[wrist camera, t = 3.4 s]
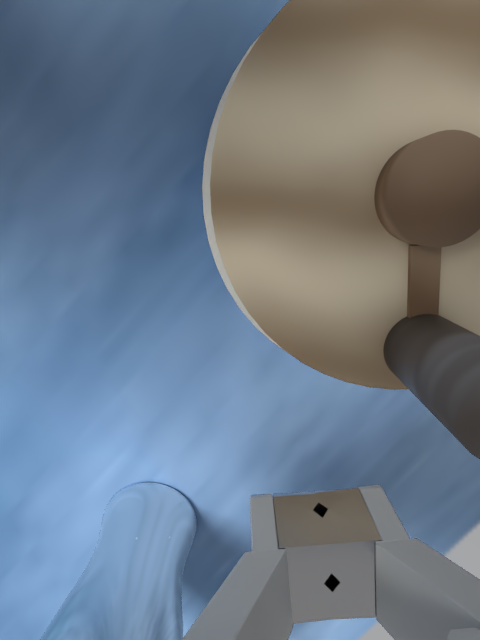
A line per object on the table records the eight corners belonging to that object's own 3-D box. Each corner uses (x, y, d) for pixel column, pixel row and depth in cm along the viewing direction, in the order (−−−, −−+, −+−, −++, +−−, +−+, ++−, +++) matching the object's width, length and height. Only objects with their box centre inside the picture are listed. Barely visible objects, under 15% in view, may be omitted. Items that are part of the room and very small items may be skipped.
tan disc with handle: (190, -12, 15) (140, -244, 7) (631, -60, 15) (1061, -356, 7) (232, 386, 20) (229, 498, 12) (570, 356, 19) (792, 451, 12)
